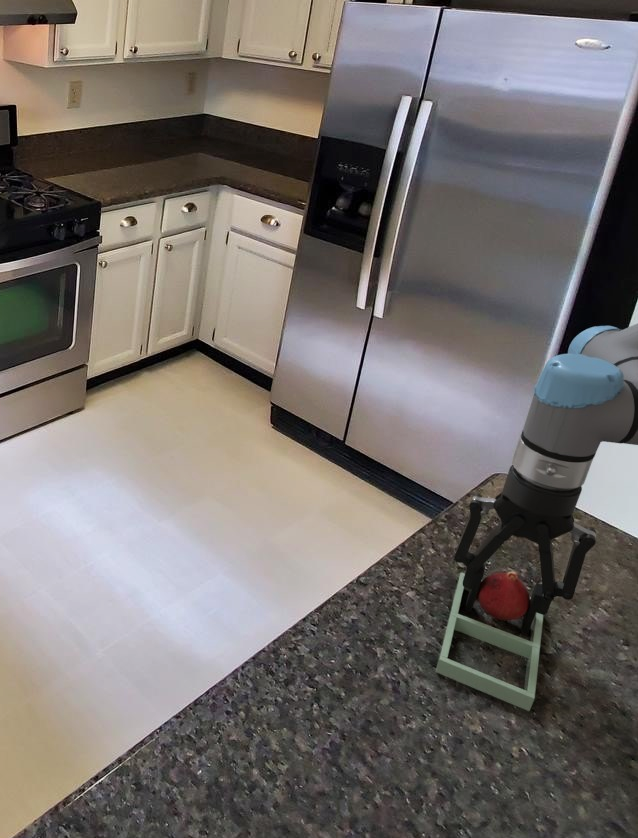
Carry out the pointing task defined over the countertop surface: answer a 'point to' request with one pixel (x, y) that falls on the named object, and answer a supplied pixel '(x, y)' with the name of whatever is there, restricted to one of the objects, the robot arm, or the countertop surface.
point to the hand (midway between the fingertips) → (496, 616)
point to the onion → (504, 596)
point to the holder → (498, 639)
